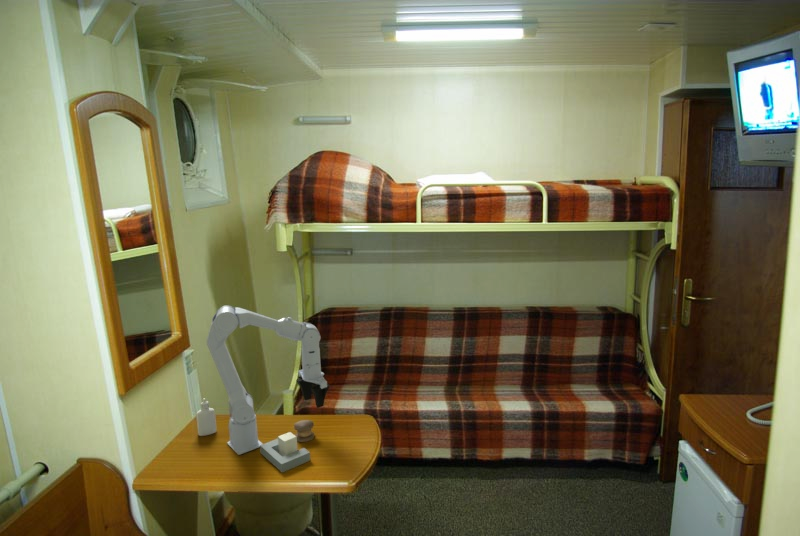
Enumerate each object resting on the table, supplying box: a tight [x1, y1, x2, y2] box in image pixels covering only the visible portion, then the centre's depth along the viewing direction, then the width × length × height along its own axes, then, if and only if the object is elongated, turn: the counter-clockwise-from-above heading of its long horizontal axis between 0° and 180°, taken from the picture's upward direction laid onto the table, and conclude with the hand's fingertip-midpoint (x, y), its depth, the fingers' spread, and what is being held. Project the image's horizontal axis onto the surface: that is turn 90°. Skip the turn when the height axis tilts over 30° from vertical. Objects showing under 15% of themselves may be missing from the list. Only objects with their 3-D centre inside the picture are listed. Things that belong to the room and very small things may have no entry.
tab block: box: [277, 431, 298, 457], centre depth 144 cm, size 4×4×6 cm
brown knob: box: [293, 419, 315, 443], centre depth 154 cm, size 6×6×4 cm
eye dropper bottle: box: [195, 397, 217, 437], centre depth 159 cm, size 4×6×12 cm
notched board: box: [259, 438, 311, 473], centre depth 144 cm, size 14×9×2 cm, turn 40°
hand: (313, 402), depth 156 cm, fingers open, 7 cm apart
